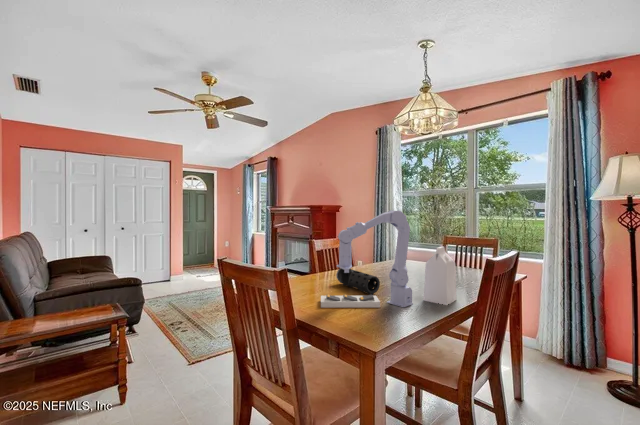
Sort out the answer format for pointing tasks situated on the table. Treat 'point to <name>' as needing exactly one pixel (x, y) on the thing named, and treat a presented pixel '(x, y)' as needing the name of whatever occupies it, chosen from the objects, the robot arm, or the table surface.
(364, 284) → the black foam roller
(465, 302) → the table surface
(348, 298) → the middle rocker
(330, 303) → the switch strip
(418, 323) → the table surface
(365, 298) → the rocker
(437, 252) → the milk
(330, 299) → the rocker
